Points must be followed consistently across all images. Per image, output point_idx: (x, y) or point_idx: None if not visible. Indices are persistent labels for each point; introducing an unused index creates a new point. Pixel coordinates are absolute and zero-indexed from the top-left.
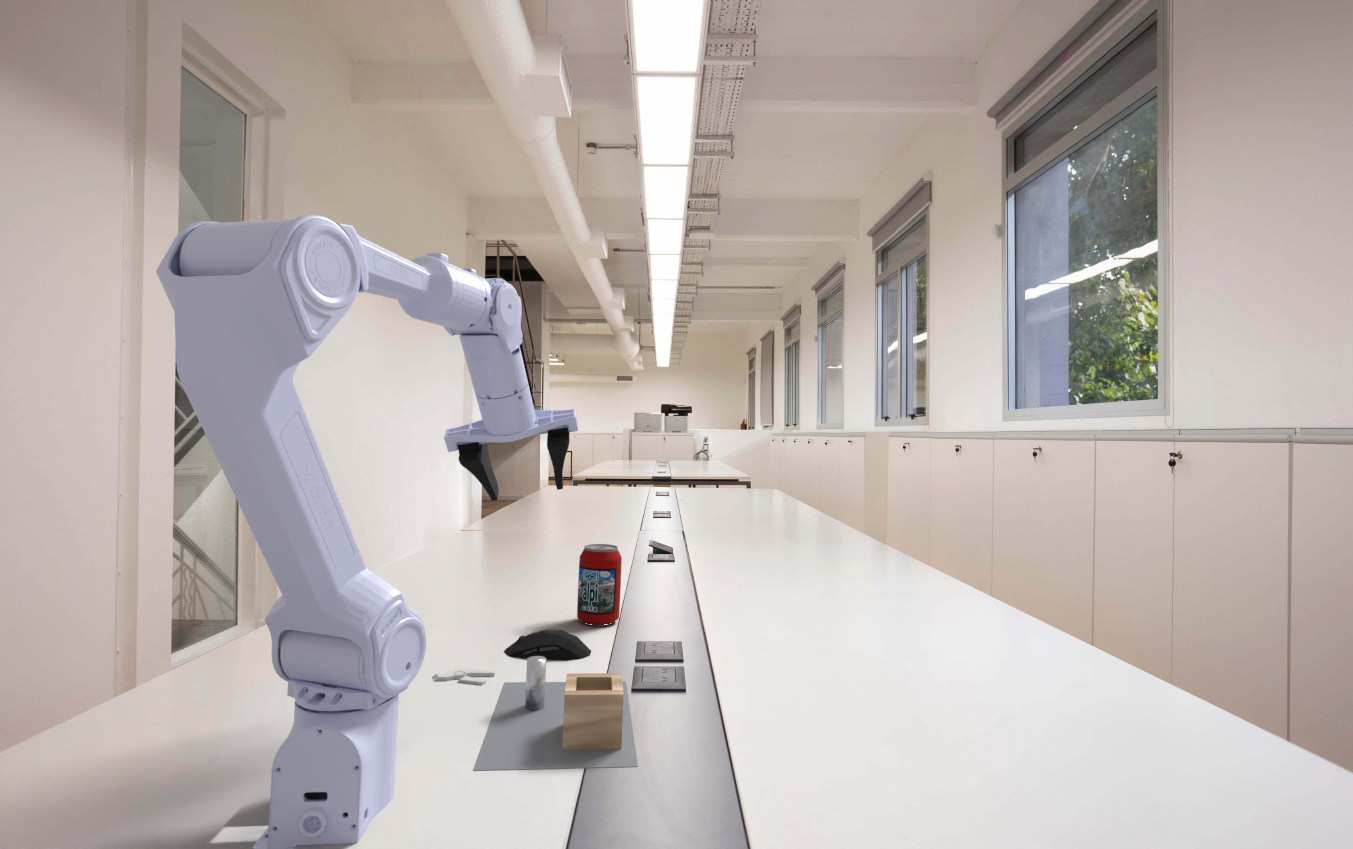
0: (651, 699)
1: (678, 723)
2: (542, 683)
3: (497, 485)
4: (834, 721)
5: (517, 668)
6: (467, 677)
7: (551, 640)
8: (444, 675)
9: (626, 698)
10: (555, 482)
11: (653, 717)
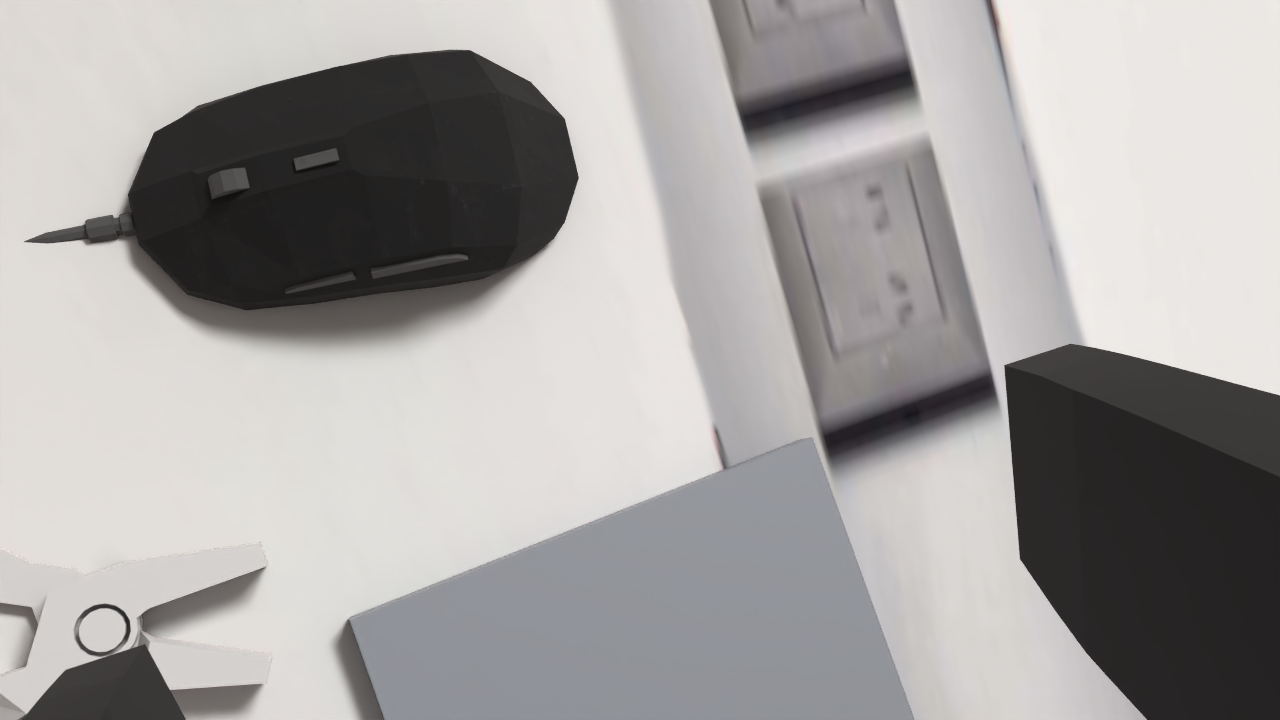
0: (912, 509)
1: (1040, 674)
2: None
3: (126, 701)
4: None
5: (288, 361)
6: (167, 658)
7: (419, 226)
8: (44, 686)
9: (865, 602)
10: (1106, 674)
11: (959, 659)
